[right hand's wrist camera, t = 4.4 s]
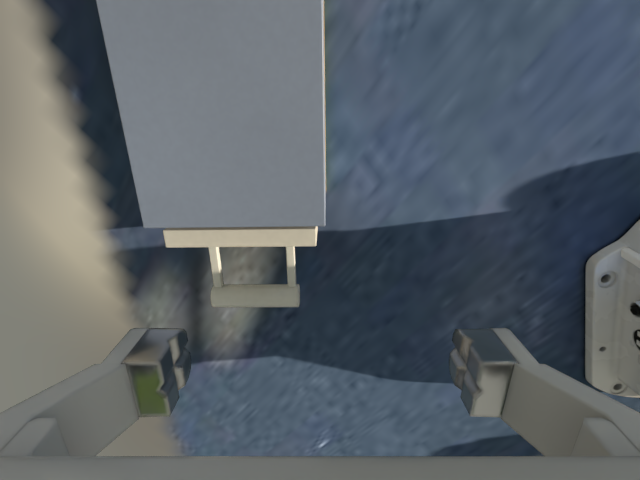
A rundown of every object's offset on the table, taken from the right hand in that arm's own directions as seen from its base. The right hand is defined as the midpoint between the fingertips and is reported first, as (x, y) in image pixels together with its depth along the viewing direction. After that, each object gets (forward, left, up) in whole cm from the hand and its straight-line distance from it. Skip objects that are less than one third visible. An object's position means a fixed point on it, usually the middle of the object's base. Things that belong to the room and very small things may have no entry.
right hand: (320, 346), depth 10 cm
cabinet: (+11, +5, -21) cm, 24 cm away
